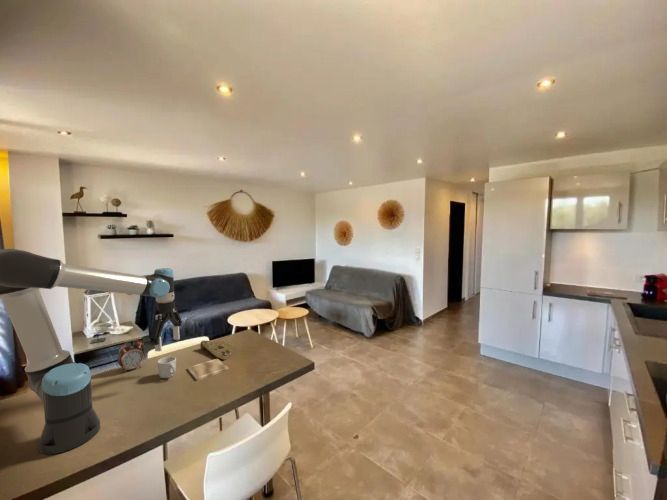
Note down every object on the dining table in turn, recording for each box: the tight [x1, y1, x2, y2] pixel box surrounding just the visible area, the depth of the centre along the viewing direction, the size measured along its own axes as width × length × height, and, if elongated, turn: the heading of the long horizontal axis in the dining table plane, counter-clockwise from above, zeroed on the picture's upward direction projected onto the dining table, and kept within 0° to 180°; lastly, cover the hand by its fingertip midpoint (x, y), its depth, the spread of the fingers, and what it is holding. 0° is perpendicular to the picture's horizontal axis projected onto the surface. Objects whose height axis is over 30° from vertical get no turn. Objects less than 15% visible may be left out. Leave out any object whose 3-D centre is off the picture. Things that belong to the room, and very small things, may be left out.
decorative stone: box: [200, 340, 235, 360], centre depth 162 cm, size 25×15×5 cm, turn 47°
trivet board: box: [187, 357, 229, 381], centre depth 141 cm, size 15×15×1 cm
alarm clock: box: [117, 339, 146, 373], centre depth 142 cm, size 11×5×15 cm, turn 144°
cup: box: [156, 355, 177, 379], centre depth 134 cm, size 11×8×8 cm
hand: (168, 344), depth 134 cm, fingers open, 13 cm apart
